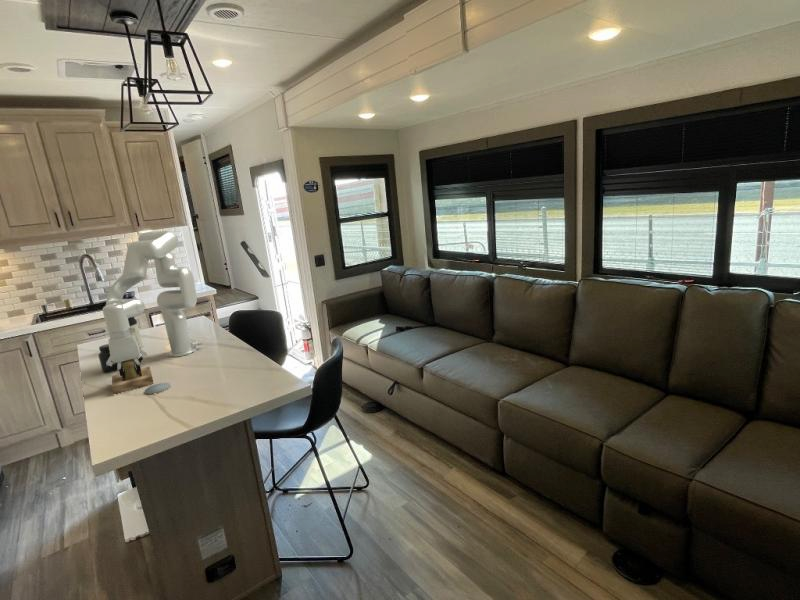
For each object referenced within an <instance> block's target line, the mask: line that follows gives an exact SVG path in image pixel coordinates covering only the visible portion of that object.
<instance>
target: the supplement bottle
mask: <svg viewBox="0 0 800 600" xmlns="http://www.w3.org/2000/svg"><path fill="white" fill-rule="evenodd" d="M98 349H99V353H98V360H99V362H100V367H101V370H102V372H103V373H104V374H106V373H107V374H108V372H109V373H114V372H116V371H119V370H118V369H117V368H114V367H112V366H109V365H106V362H107V361H108V359H109V357H110V350H109V343H107V344H103V345H100V346H98ZM111 362H112V363H113V361H111ZM116 364H117V363H116ZM113 371H114V372H113Z"/></svg>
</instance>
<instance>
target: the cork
mask: <svg viewBox="0 0 800 600" xmlns="http://www.w3.org/2000/svg"><path fill="white" fill-rule="evenodd" d="M121 367H122V368H123V370H124V375H125V381H126V380H130V379H134V378H138V377H140V376H139V374H138V373H137V369H136V362H135V361H134V359H132V360H128V361H124V362H121Z"/></svg>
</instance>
